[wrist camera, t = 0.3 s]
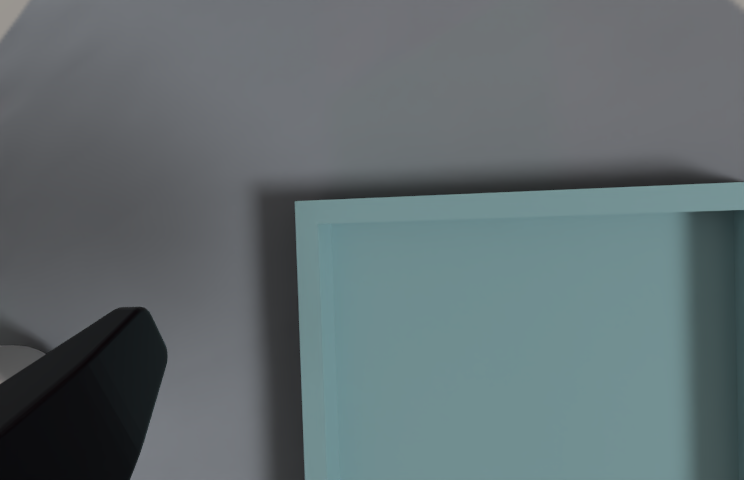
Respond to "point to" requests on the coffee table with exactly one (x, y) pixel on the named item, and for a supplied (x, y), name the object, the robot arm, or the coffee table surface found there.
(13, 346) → the plastic bottle
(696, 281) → the tray
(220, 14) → the coffee table surface
